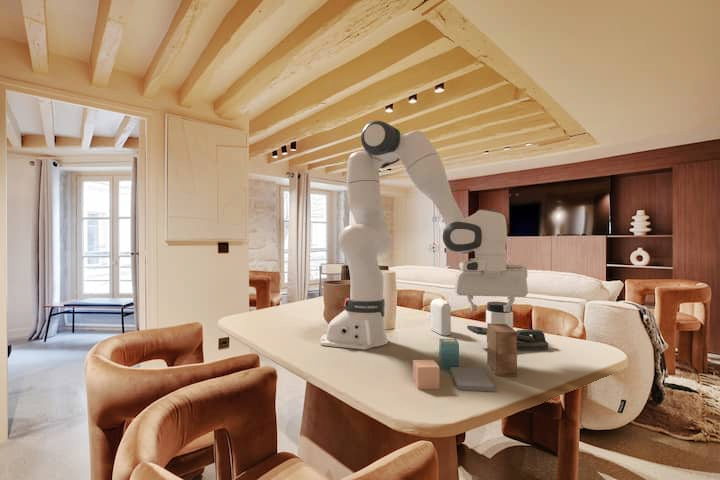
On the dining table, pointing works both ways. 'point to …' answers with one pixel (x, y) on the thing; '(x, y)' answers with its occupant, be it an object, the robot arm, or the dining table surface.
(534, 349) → the zipper pull
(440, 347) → the block
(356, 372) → the dining table surface
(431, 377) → the block
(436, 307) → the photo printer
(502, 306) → the jar
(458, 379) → the felt pad
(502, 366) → the block
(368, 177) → the robot arm
